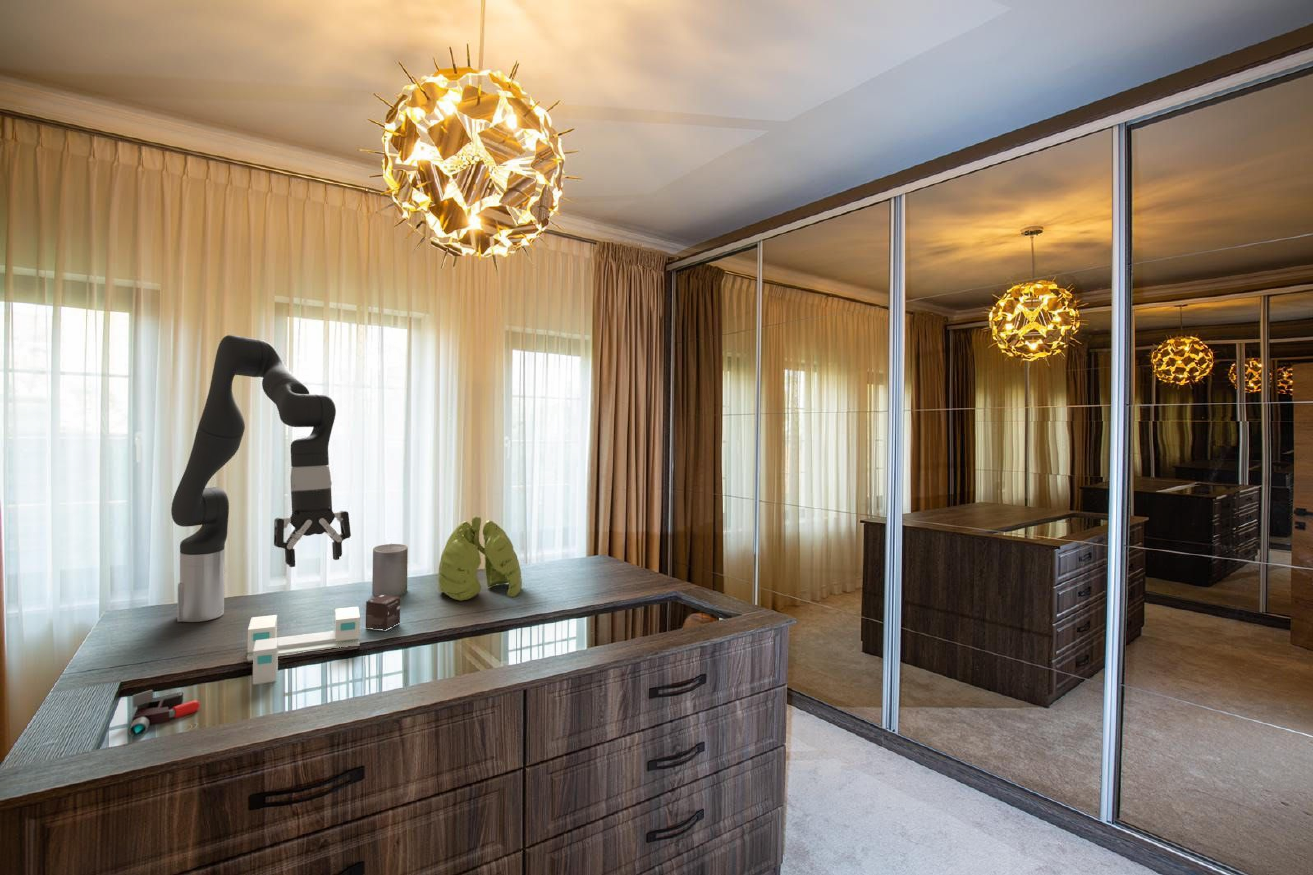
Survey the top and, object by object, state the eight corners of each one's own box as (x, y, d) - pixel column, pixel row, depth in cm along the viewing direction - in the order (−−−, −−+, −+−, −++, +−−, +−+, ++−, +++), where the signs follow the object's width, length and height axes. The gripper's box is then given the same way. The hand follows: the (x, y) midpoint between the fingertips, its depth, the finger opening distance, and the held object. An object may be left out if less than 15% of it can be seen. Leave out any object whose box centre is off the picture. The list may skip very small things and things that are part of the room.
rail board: (246, 664, 133) (247, 631, 133) (251, 646, 142) (252, 616, 141) (359, 649, 143) (360, 618, 143) (357, 634, 152) (358, 605, 152)
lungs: (438, 604, 176) (441, 521, 175) (436, 588, 191) (438, 511, 189) (526, 597, 186) (529, 519, 185) (517, 582, 200) (520, 509, 199)
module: (252, 685, 124) (253, 651, 124) (255, 672, 130) (256, 640, 129) (275, 682, 126) (276, 648, 126) (277, 669, 131) (278, 637, 131)
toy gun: (123, 742, 103) (123, 714, 103) (137, 710, 113) (137, 684, 113) (195, 729, 108) (195, 702, 108) (202, 699, 118) (203, 675, 118)
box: (385, 632, 154) (386, 604, 154) (364, 629, 155) (365, 601, 155) (400, 624, 160) (401, 596, 160) (379, 621, 161) (380, 594, 161)
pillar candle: (385, 586, 190) (386, 538, 189) (413, 589, 188) (414, 541, 187) (364, 596, 181) (365, 545, 179) (394, 599, 179) (394, 549, 177)
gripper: (341, 484, 139) (344, 555, 139) (268, 489, 129) (271, 566, 129) (352, 485, 133) (355, 559, 133) (277, 491, 124) (281, 571, 124)
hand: (314, 563), depth 131 cm, fingers open, 8 cm apart
